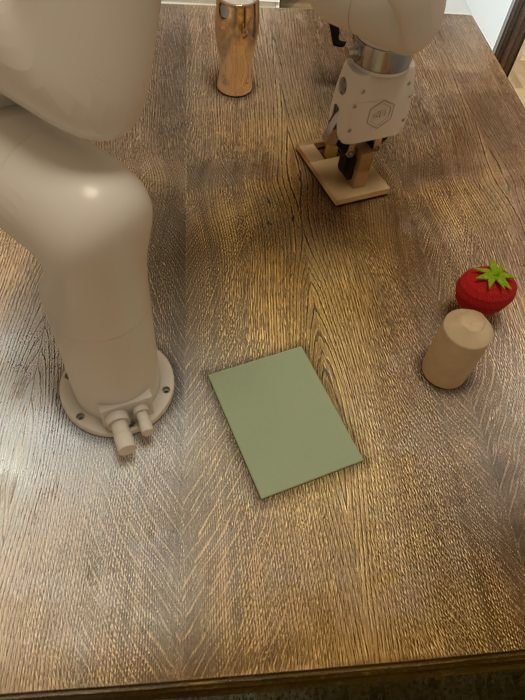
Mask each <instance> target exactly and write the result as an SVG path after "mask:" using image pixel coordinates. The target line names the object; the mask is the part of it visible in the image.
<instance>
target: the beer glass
mask: <svg viewBox="0 0 525 700" xmlns="http://www.w3.org/2000/svg"><path fill="white" fill-rule="evenodd" d="M260 8H261V7H260V0H215V9H214V10H215V11H214V33H215V41H216V47H217V48H216V49H217V54H218V61H219V68H218V69H219V70H218V75H217V81H216V87H217V89H218V91H220V92H221V93H222V94H224V95H226V96H229V97H242V96H245V95H248V94H249V93H250V92H251V91H252V90H253V78H252V63H253V58H254V54H255V50H256V46H257V42H258V37H259V31H260V18H261V17H260V15H261V13H260Z"/></svg>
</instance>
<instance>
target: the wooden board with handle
mask: <svg viewBox="0 0 525 700" xmlns="http://www.w3.org/2000/svg"><path fill="white" fill-rule="evenodd" d="M325 146H326V144H325V142H324V141H323V140H322V137H319V138H314V139H308V140H304V141H298V142H296V144H295V149H296V150H297V152H298V153H299V155H300V157H301V158H302V159H303V161H304V162H305V164H306V165H307V166H308V168H309V169H310V171H311V172H312V173H313V175H314V176H315V177H316V178H315V179H316V180H317V181H318V182H319V184H320V185H321V186H322V188H323V189H324V191H325V192H326V194H327V195H328V197H329V198H330V200H331V201H332V202H333V204H334V206H340V205H344V204H349V203H353V202H357V201H363V200H366V199H370V198H375V197H379V196H383V195H388V194H390V190H391V187H390V185H389V184H388V183H387V182H386V181H385V179H384V178H383V177H382V175H381V174H380V173H379V171H378V170H377V169H376V168H375V167H374V165H373V164H371V163H373V160H374V156H375V153H374V151H373V150H372V149H371V147H370V146H369V145H368V144H367V142H366V141H365V142H360V143H357V146H356V150H355V154H354V155H355V156H356V158H357V159H356V163H355V167H354V171H353V175H352V178H351V179H350V180H347V179H346V178H345V177H344V175H343V174H342V173H341V172H340V171H339V169H338V161H339V157H340V155H339V156H337V157H334V158H329V159H327V158H325V157H324V155H322V154H321V152H320V150H319V149H318V148H325ZM338 151H339V152H341V150H340V149H339V148H338ZM372 159H373V160H372Z"/></svg>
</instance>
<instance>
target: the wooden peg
mask: <svg viewBox="0 0 525 700" xmlns="http://www.w3.org/2000/svg"><path fill="white" fill-rule="evenodd" d="M331 102H332V99H330V103H331ZM338 151H339V149H338V147H337V146H330V145H326V146H324V152H323V157H324V158H325V159H329V158H334V157H338Z"/></svg>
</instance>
